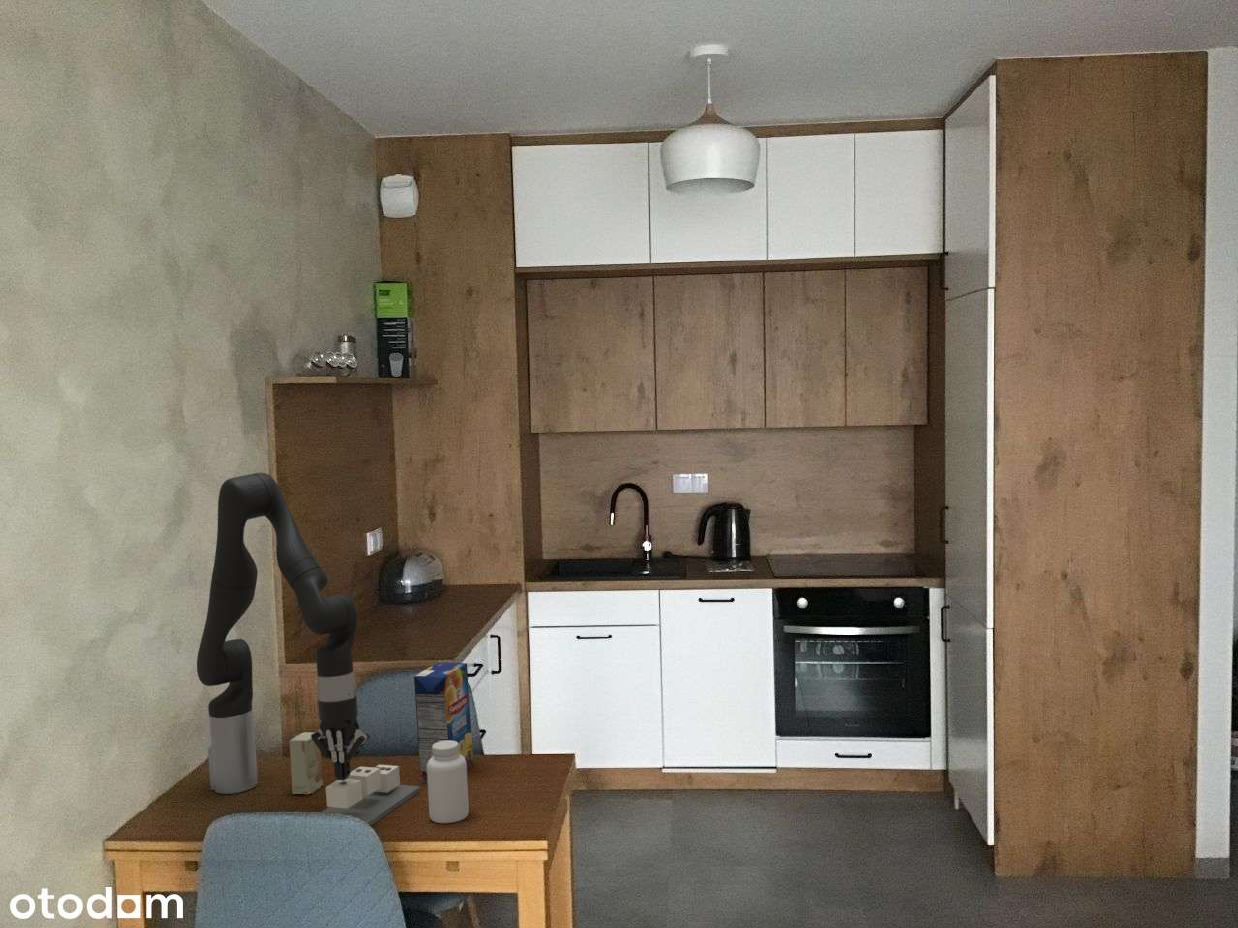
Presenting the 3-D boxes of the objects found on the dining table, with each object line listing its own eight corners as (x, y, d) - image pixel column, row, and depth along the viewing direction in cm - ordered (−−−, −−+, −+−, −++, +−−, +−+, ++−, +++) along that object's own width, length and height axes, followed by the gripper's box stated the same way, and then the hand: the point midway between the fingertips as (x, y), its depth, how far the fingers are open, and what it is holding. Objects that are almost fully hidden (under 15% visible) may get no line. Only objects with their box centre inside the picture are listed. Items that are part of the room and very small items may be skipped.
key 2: (347, 793, 215) (346, 773, 215) (361, 784, 220) (360, 764, 220) (367, 795, 213) (366, 775, 213) (381, 786, 218) (380, 766, 218)
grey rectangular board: (307, 825, 209) (306, 821, 209) (369, 786, 229) (368, 781, 229) (361, 831, 204) (361, 826, 204) (420, 790, 225) (419, 786, 225)
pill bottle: (451, 827, 204) (447, 752, 204) (421, 820, 209) (416, 747, 208) (477, 812, 211) (473, 740, 210) (447, 806, 215) (443, 735, 214)
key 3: (367, 790, 222) (366, 770, 222) (380, 782, 226) (379, 762, 226) (387, 792, 220) (386, 772, 220) (400, 783, 225) (398, 764, 224)
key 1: (326, 806, 209) (325, 785, 208) (341, 797, 213) (340, 776, 213) (347, 808, 207) (346, 787, 207) (362, 799, 212) (360, 778, 211)
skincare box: (310, 795, 225) (306, 740, 225) (291, 795, 226) (288, 740, 226) (324, 784, 232) (320, 731, 231) (306, 784, 233) (302, 731, 232)
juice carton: (444, 763, 242) (437, 662, 240) (473, 765, 240) (467, 663, 238) (420, 782, 230) (413, 676, 229) (451, 783, 228) (444, 676, 227)
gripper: (298, 698, 207) (304, 783, 208) (353, 701, 203) (360, 788, 204) (321, 688, 215) (327, 770, 215) (375, 691, 210) (381, 774, 211)
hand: (343, 778), depth 210 cm, fingers closed
